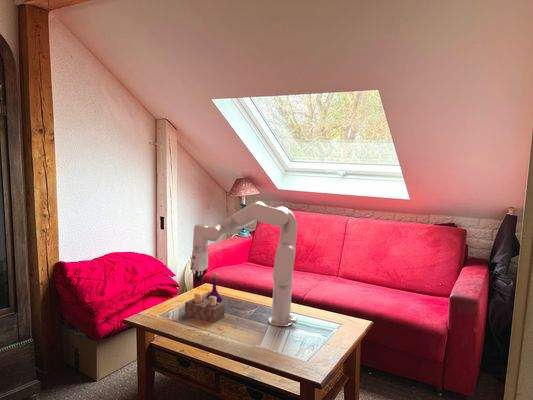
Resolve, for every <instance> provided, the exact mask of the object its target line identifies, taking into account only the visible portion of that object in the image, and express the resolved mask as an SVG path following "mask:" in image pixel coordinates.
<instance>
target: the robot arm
mask: <svg viewBox="0 0 533 400" xmlns="http://www.w3.org/2000/svg"><path fill="white" fill-rule="evenodd" d="M254 222H260V223H263V224H268V225H272V226H276V227H280V232H279V240H278V241H279V242H278V246H277V249H276V251H275V256H274V263H273V270H272V271H273V272H272V278H273V289H272V303H271V305H272V306H271V316H270V317H269V318H268V320H267V321H268V323H269V324H270V325H271V326H274V325H275V326H274V327H278V326H285V325H288V323H291V322H292V324H298V318H297V317H293V314H292V313H291V310H292V309H291V308H292V293H293V292H292V291H293V279H294V278H293V277H294V266H295V259H296V247H297V239H298V238H297V237H298V236H297V235H298V221H297V218H296V217H295V215H294V213H293V212H292V211H291V210H290V209H288V208H287V207H285V206H278V207H273V206H269V205H266V204H265V203H264V202H262V201H260V200H259V201H254V202H253V203H251V204H249V205H248V206H245V207H243V208H242V209H240V210H238V211H236V212H235V213H232V215H230V216H228V217H227V218H225V219H224V220H221V221H220V222H218V223H216V224H214V225H213V226H208V225H207V224H195V225H194V227H193V234H192V235H193V238H192V239H193V240H192V251H191V257H190V266H189V267H190V270H191V274H194V283H195V284H201V283H202V276H203V274H204V273H203V272H204V271H205V270H207V269H208V268H209V252H208V241H210V242H218V241H220V239H222V238H223V237H224V236H226V235H228V234H230V233H232V232H234V231H236V230H239V229H240V230H241V229H243V228H246V227H247V226H249V225H251V224H252V223H254Z"/></svg>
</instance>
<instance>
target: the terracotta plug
mask: <svg viewBox="0 0 533 400" xmlns="http://www.w3.org/2000/svg"><path fill="white" fill-rule="evenodd" d="M193 295H194V296H193V299H194V303H198V304H200V303H202V299H203V293H201V292H195V293H194V294H193Z"/></svg>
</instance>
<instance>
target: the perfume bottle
mask: <svg viewBox="0 0 533 400" xmlns="http://www.w3.org/2000/svg"><path fill="white" fill-rule="evenodd" d="M212 275H213V276H212V277H211V280H210V283H211V284H212V289H211V291H210V292H209V293H208V294H207V295H206V297H205V299H207V300H209V297H210V296H215V297H217V298H216V302H219V303H222V301H223V298H222V296H221V295H220V293H219V292H218V289H217V283H218V282H219V281H218V279H217V278H218V276H219V273H217V272H214V273H212Z"/></svg>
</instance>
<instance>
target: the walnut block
mask: <svg viewBox="0 0 533 400" xmlns="http://www.w3.org/2000/svg"><path fill="white" fill-rule="evenodd" d="M208 303H209V300H208V299H207V298H202V303H200V304H198V303H194V298H192V299H190V300H188V301H185V302H184V316H186V317H189V318H193V319H196V320H201V321H205V322H208V323H211V324H214V323H216V322H217V321H219V320H222V319H223V318H225V308H226V303H223V302H220V303H219V302H216V306H215V307H210V306H208Z"/></svg>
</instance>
